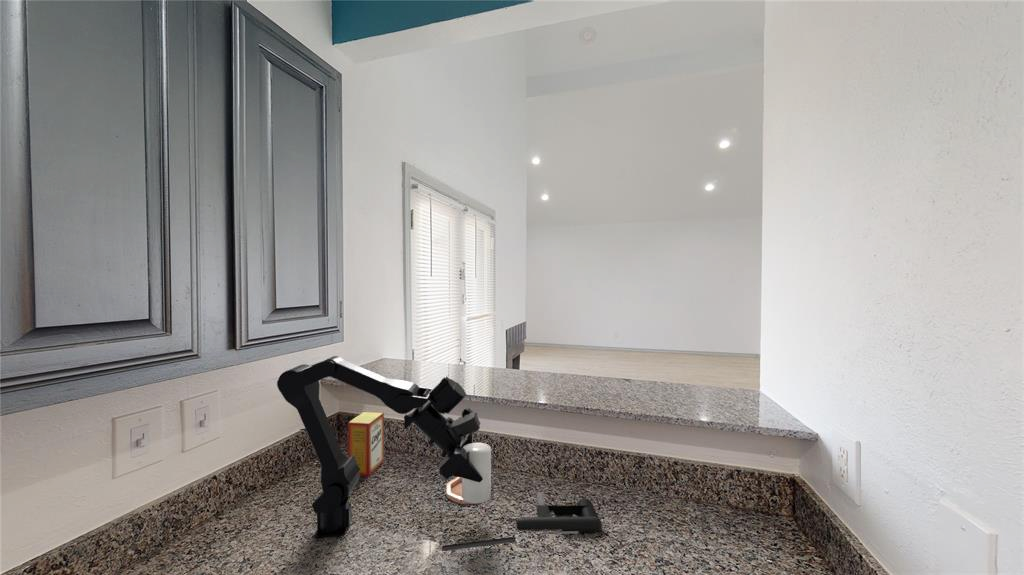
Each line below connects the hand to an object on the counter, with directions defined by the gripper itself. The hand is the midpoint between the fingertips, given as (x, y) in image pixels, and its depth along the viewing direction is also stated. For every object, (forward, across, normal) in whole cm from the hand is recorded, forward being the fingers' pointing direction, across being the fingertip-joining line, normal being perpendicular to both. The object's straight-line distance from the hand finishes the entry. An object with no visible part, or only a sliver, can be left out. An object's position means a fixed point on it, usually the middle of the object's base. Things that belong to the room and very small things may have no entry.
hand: (482, 472), depth 88 cm
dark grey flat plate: (+8, -1, +10) cm, 13 cm away
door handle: (+22, +3, -4) cm, 23 cm away
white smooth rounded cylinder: (+3, 0, +5) cm, 5 cm away
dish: (+6, +13, +12) cm, 18 cm away
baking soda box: (-17, +28, +35) cm, 48 cm away
